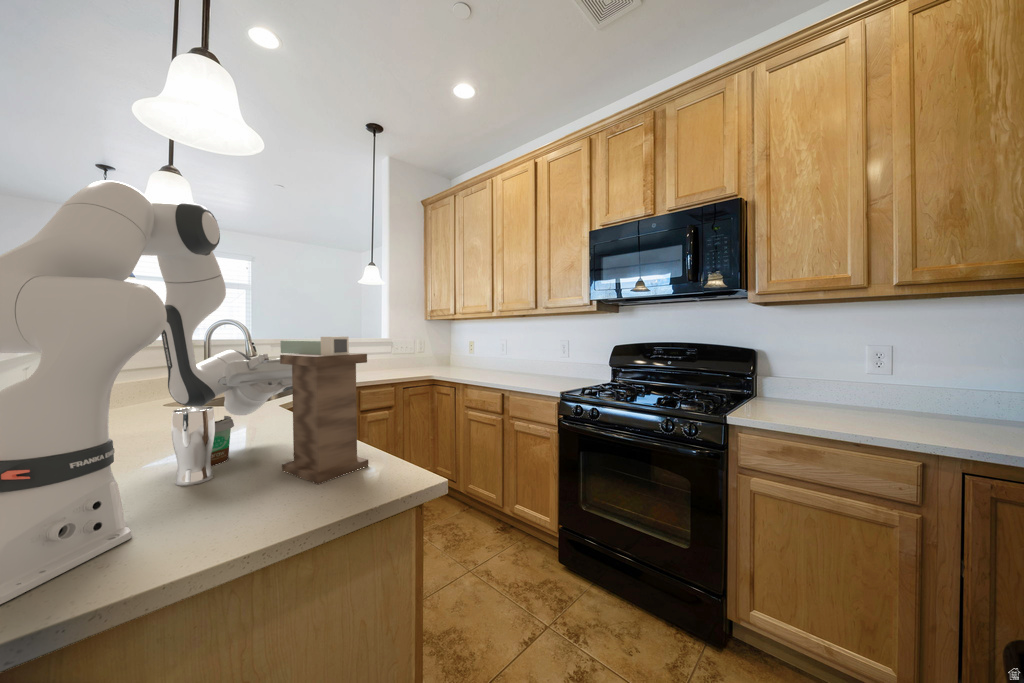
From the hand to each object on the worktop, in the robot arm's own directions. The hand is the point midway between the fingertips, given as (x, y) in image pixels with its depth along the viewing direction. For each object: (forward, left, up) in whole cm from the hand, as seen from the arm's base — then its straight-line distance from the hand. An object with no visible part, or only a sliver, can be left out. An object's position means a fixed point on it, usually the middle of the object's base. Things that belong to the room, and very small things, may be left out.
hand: (285, 355), depth 93 cm
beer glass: (-14, +12, -25) cm, 31 cm away
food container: (-3, +15, -26) cm, 30 cm away
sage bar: (-7, -9, +1) cm, 12 cm away
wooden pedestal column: (-11, -13, -25) cm, 30 cm away
